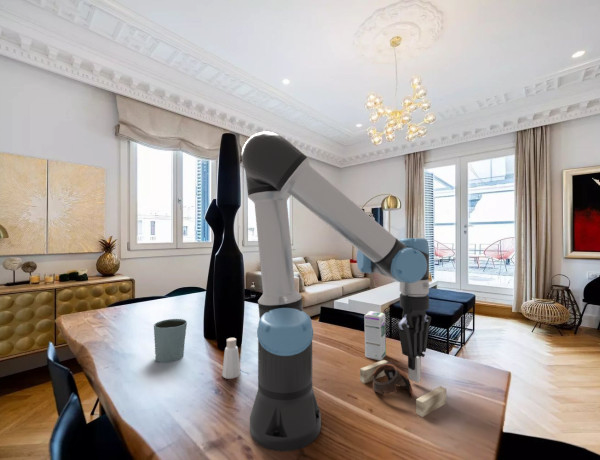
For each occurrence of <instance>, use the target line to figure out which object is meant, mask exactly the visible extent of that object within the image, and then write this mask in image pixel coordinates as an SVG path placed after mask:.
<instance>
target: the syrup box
mask: <svg viewBox="0 0 600 460" xmlns="http://www.w3.org/2000/svg"><path fill="white" fill-rule="evenodd" d="M363 318H364V319H363V320H364V321H363V323H364V356H365V358H368V359H371V360H375V361H382V360H384V358H385V357H386V355H387V342H386V341H387V340H386V339H387V335H386V333H387V332H386V313H385V312H380V311H375V310H374V311H372V310H370V311H368V312H367V313H366V314H364V317H363Z"/></svg>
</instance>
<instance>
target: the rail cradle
mask: <svg viewBox="0 0 600 460" xmlns="http://www.w3.org/2000/svg"><path fill="white" fill-rule="evenodd" d="M388 362H389V361H388V360H385V359H382V360H381V361H380V360H378V361H377V362H373V363H371V364H369V365H366V366H363V367H360V369H359V378H360V379H359V381H360V383H362V384H366V383H369V382H373V381H372V380H373V378H374V376H373V372H374V371H375V370H376V369H377V368H378V367H379V366H381V365H383V364H386V363H388ZM384 376H386V375H385V373H384V370H383V371H382V372H380V373H379V374H378V376H377V377H376V380H377V379H380V378H382V377H384ZM415 404H416V405H415V406H416V407H415V409H416V410H415V413H416V415H418V416H419V417H421V418H424V417H425V416H427V415H429V414H430V413H432V412H434V411H436V410H437V409H440V408H441V407H442V406H445V405H446V404H447V388H445V387H443V386H442V385H439V386H438V387H437V388H434V389H432V390H430V391H429V392H427V393H425V394H424V395H421V396H420V397H418V398H416V399H415Z"/></svg>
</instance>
